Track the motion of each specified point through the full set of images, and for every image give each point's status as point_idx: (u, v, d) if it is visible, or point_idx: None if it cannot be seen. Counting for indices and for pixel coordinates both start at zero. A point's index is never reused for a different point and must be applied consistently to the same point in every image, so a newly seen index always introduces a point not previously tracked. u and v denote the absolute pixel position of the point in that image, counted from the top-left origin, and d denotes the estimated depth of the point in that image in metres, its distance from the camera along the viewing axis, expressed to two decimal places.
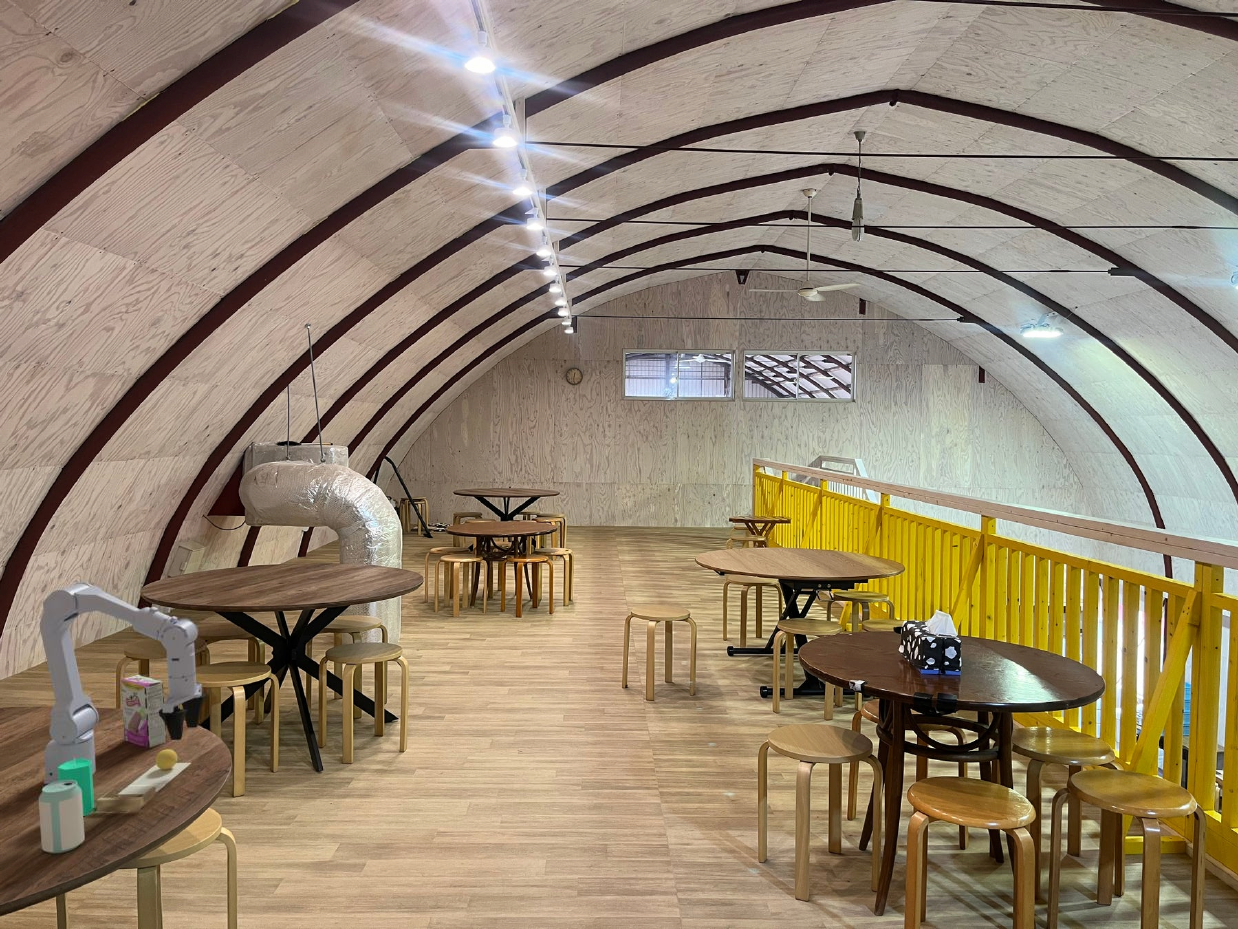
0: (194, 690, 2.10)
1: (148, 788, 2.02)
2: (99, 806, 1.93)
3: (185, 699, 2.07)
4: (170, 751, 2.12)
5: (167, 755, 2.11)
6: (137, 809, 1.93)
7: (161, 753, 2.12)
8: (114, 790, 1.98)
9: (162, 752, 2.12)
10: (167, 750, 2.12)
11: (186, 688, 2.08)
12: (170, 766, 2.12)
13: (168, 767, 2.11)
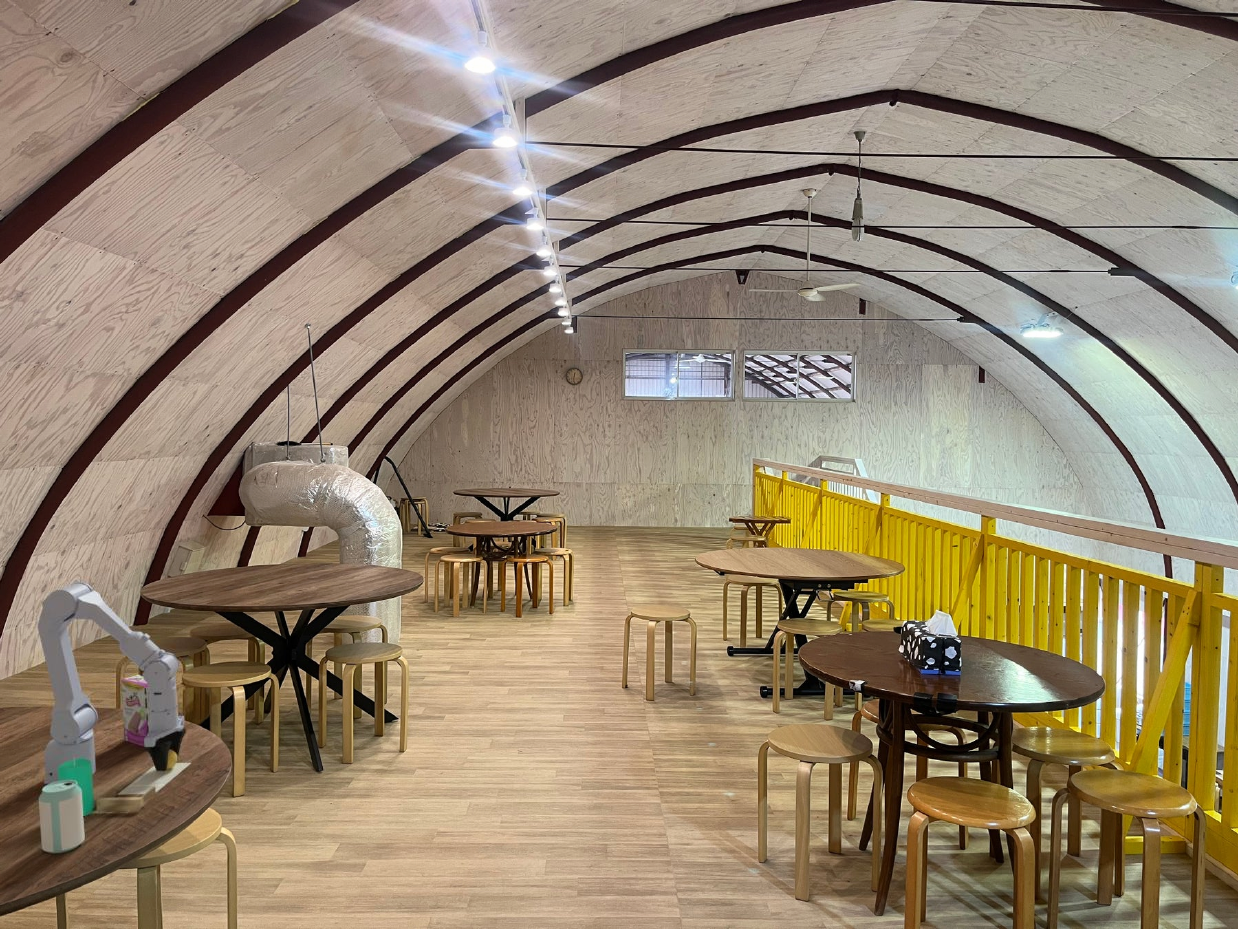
0: (176, 723, 2.12)
1: (148, 788, 2.02)
2: (99, 806, 1.93)
3: (167, 733, 2.09)
4: (170, 751, 2.12)
5: None
6: (137, 809, 1.93)
7: None
8: (114, 790, 1.98)
9: None
10: None
11: (168, 722, 2.10)
12: (170, 766, 2.12)
13: (168, 767, 2.11)
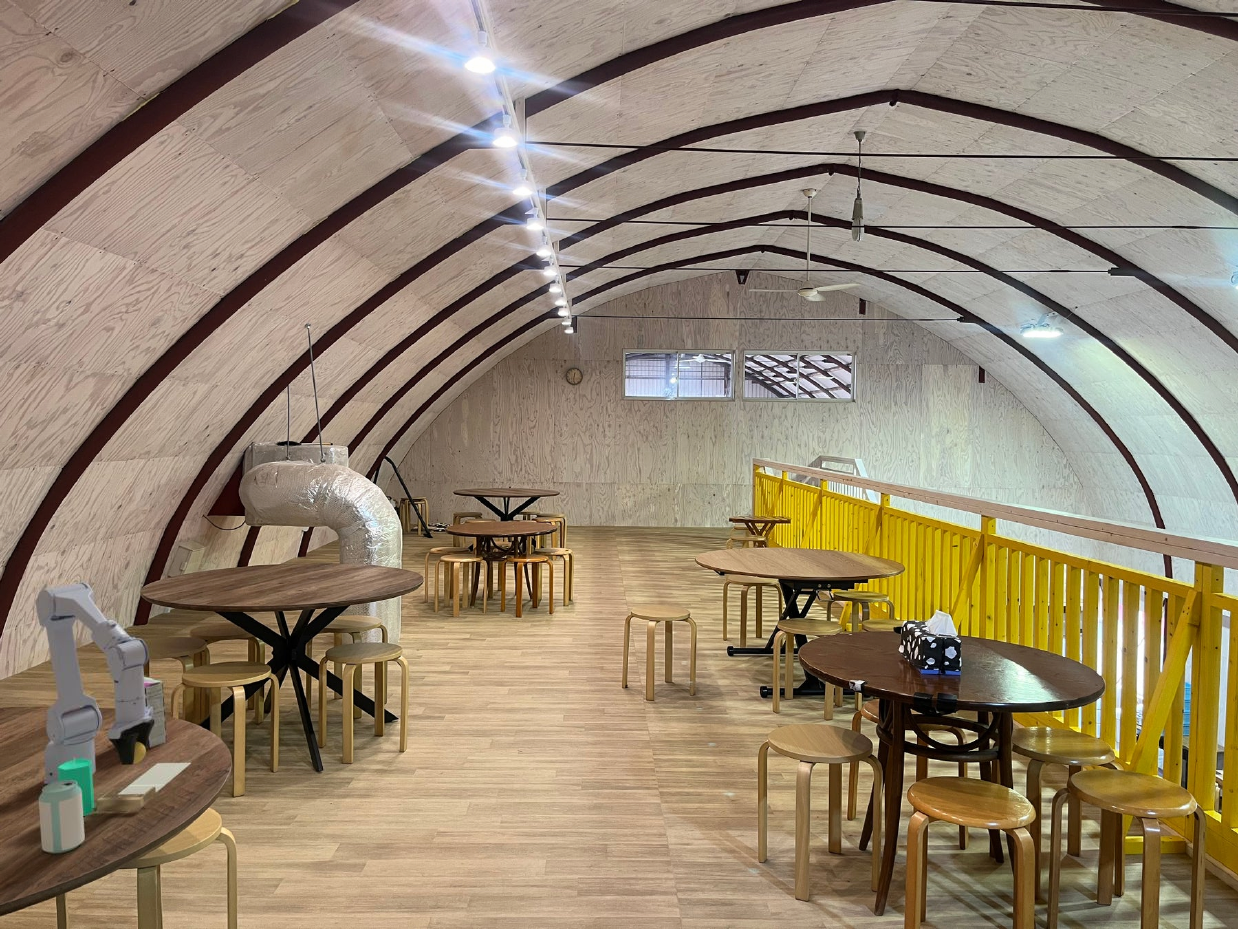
0: (143, 714, 1.98)
1: (148, 788, 2.02)
2: (99, 806, 1.93)
3: (133, 724, 1.95)
4: (138, 744, 1.98)
5: None
6: (137, 809, 1.93)
7: None
8: (114, 790, 1.98)
9: None
10: None
11: (135, 712, 1.96)
12: (138, 760, 1.98)
13: (136, 761, 1.97)
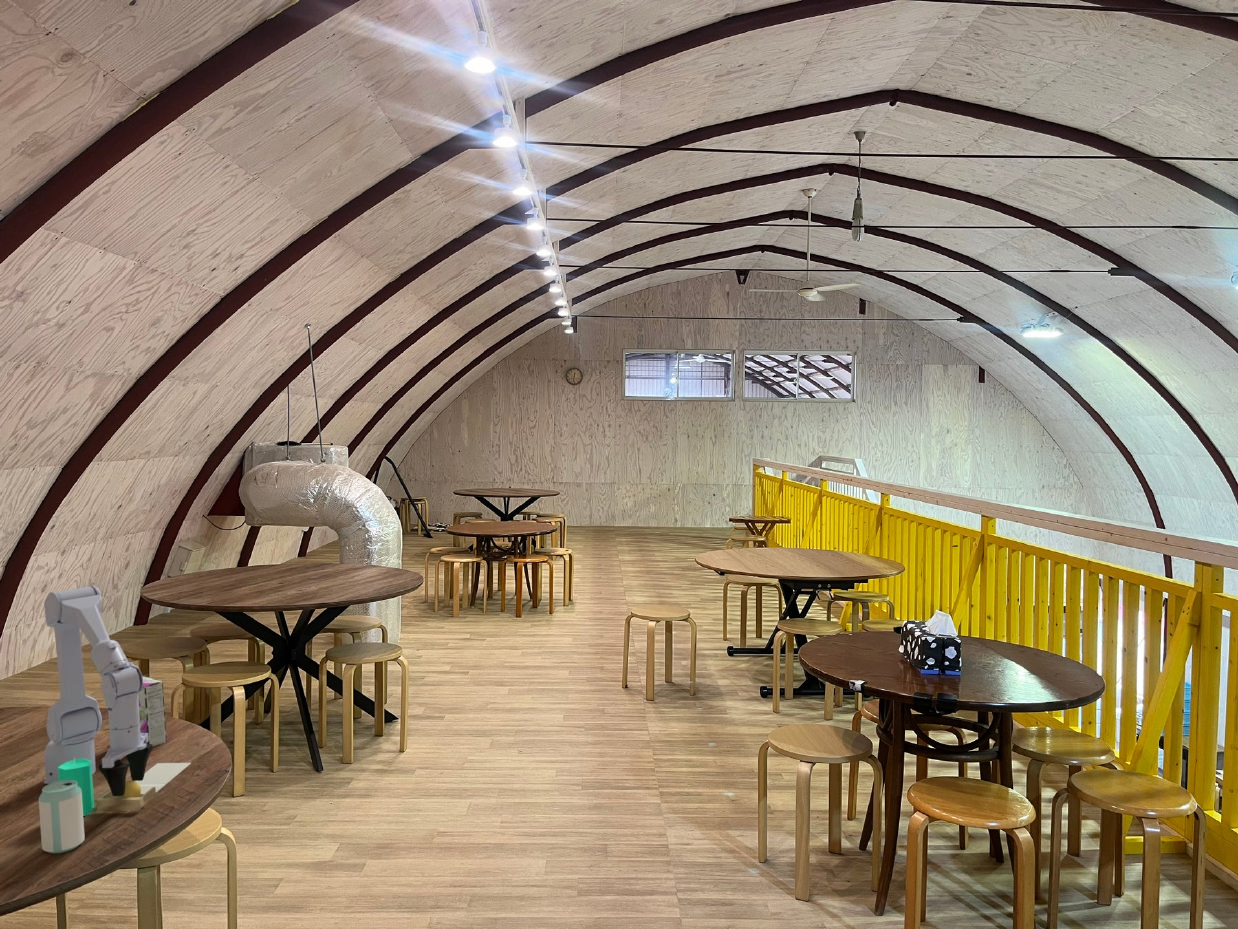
0: (138, 742, 1.96)
1: (148, 788, 2.02)
2: (99, 806, 1.93)
3: (127, 752, 1.93)
4: (133, 783, 1.96)
5: (129, 788, 1.95)
6: (137, 809, 1.93)
7: None
8: None
9: None
10: (130, 782, 1.96)
11: (129, 740, 1.94)
12: None
13: None
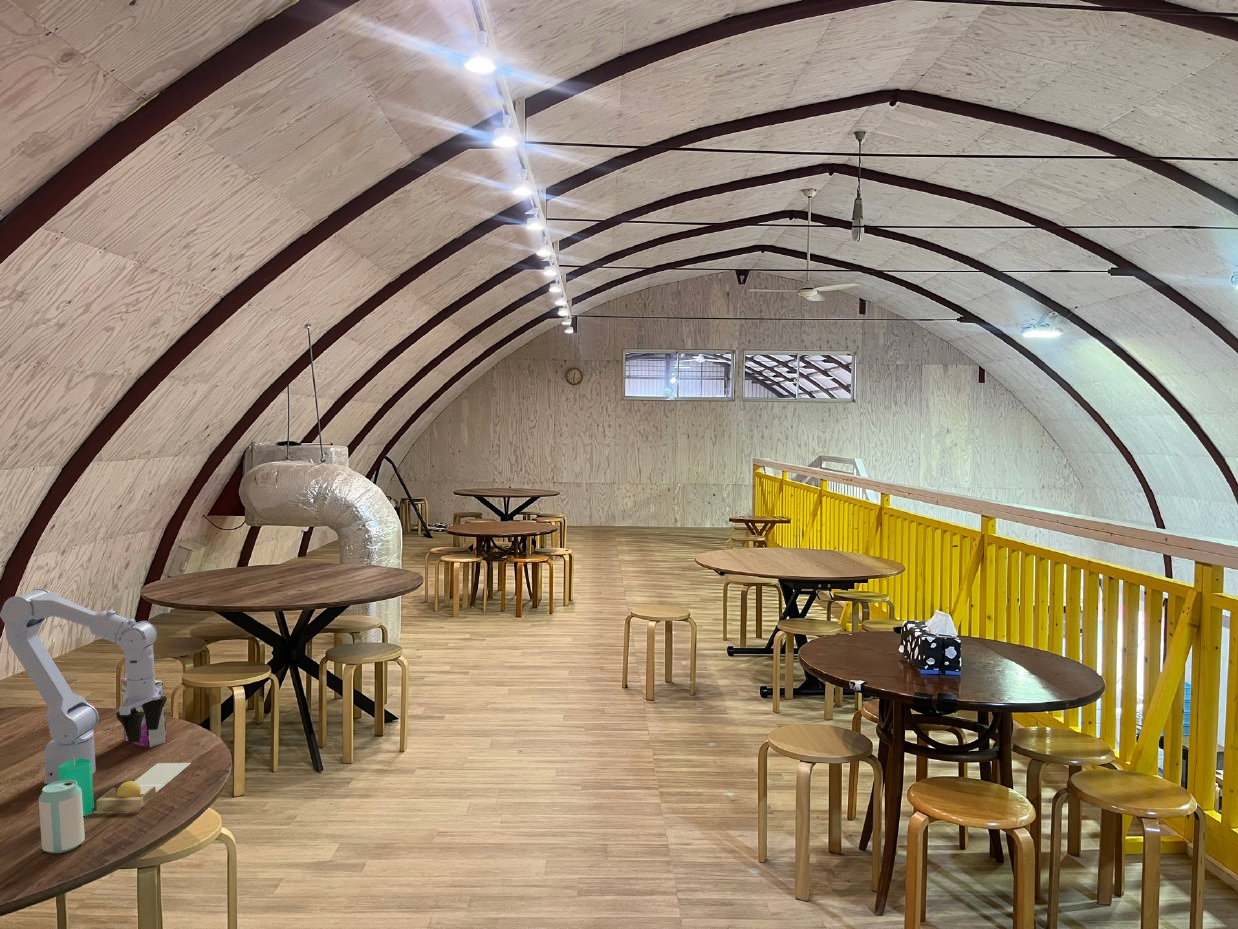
0: (153, 692, 2.10)
1: (148, 788, 2.02)
2: (99, 806, 1.93)
3: (143, 701, 2.07)
4: (132, 784, 1.96)
5: (129, 789, 1.95)
6: (137, 809, 1.93)
7: (122, 786, 1.95)
8: (114, 790, 1.98)
9: (123, 785, 1.95)
10: (129, 783, 1.96)
11: (145, 691, 2.08)
12: None
13: None
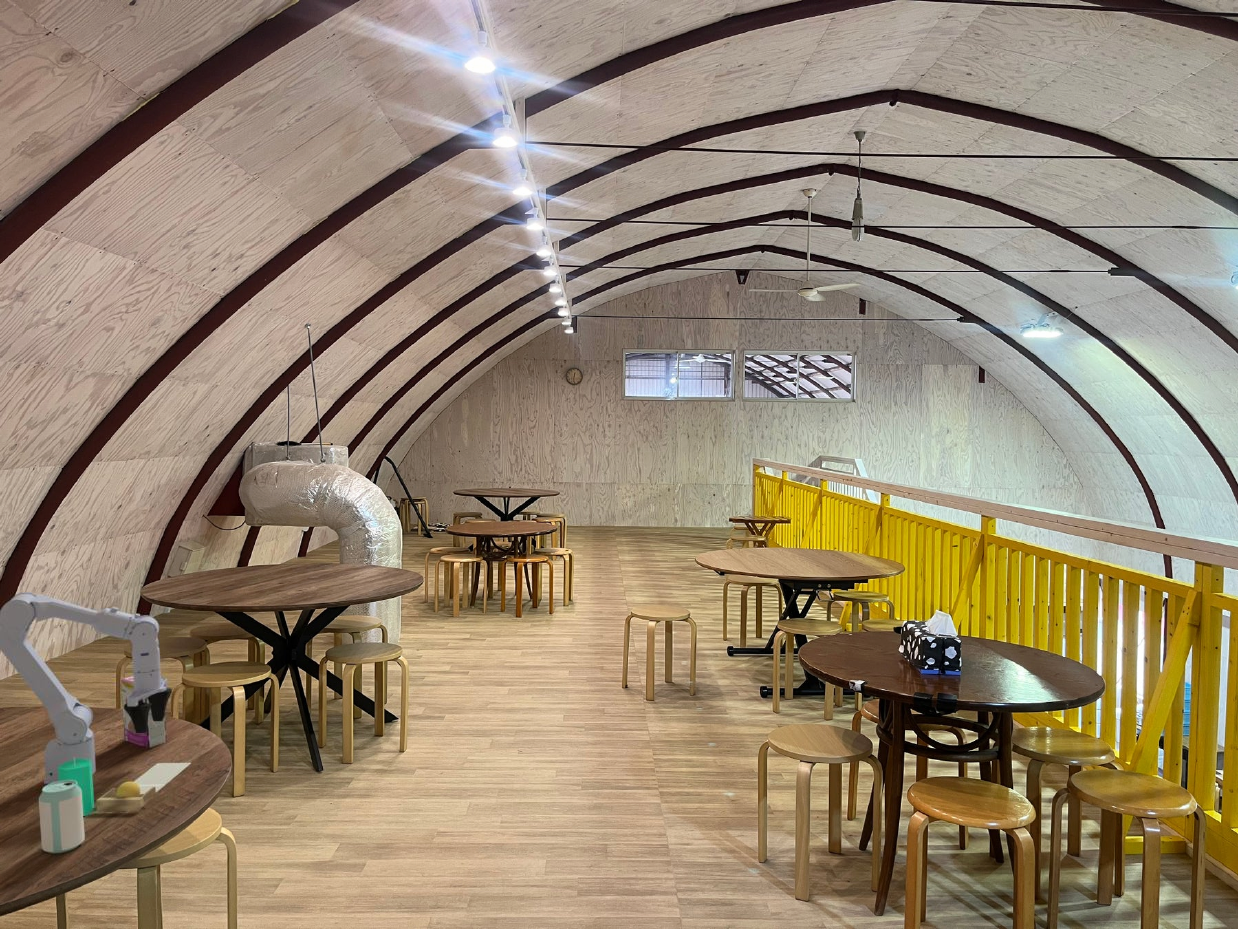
0: (159, 684, 2.15)
1: (148, 788, 2.02)
2: (99, 806, 1.93)
3: (150, 693, 2.13)
4: (131, 784, 1.96)
5: (128, 790, 1.95)
6: (137, 809, 1.93)
7: (122, 787, 1.95)
8: (114, 790, 1.98)
9: (123, 786, 1.95)
10: (128, 783, 1.96)
11: (151, 683, 2.14)
12: None
13: None
